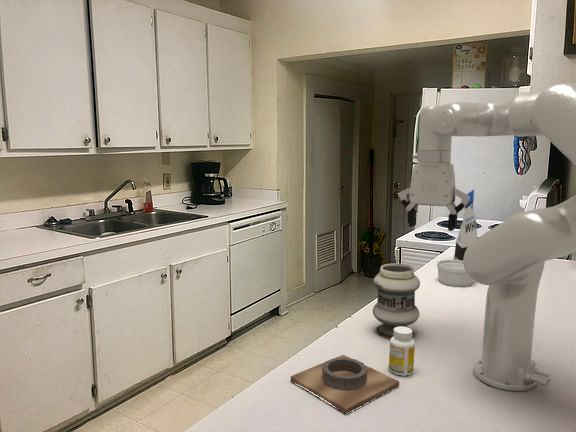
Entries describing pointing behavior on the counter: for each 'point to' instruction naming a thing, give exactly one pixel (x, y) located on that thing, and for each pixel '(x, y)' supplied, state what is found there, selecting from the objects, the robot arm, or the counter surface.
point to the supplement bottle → (402, 351)
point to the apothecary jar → (395, 298)
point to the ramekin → (453, 273)
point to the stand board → (349, 395)
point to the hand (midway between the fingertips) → (431, 228)
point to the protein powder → (466, 230)
